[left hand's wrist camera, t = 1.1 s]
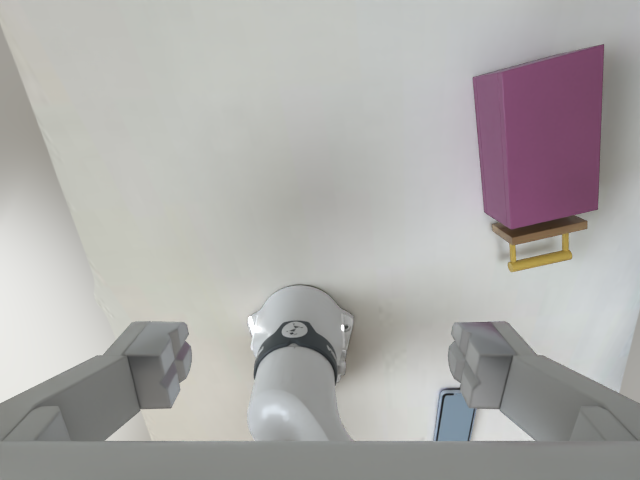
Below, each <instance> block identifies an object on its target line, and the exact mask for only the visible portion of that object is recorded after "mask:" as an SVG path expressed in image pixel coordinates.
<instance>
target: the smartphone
mask: <svg viewBox="0 0 640 480" xmlns="http://www.w3.org/2000/svg"><path fill="white" fill-rule="evenodd" d="M475 414H476V408H469V407H468V405H467V403H466V401H465V399H464V397H463V395H462V393H461V392H460V390H444V391H442V392H441V393H440V400H439V406H438V413H437V420H436V427H435V434H434V441H470V439H471V434H472V429H473V424H474V419H475Z"/></svg>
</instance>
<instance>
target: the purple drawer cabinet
mask: <svg viewBox="0 0 640 480" xmlns="http://www.w3.org/2000/svg"><path fill="white" fill-rule="evenodd" d="M603 59H604V44H602V45H598V46H593V47H589V48H584V49H580V50H575V51H570V52H566V53H561V54H557V55H553V56H550V57H546V58H542V59H538V60H535V61H531V62H527V63H524V64H520V65H516V66H513V67H509V68H505V69H502V70H498V71H494V72H491V73H487V74H483V75H479V76H476V77H473V86H474V97H475V109H476V120H477V132H478V144H479V155H480V167H481V178H482V190H483V201H484V212H485V213H486V214H488V215H489V216H491V217H492V218H494V219H495V220H497V221H499V222H500V223H502V224H503V225H505V226H506V227H508V228H510V229H515V228H520V227H524V226H528V225H533V224H537V223H541V222H546V221H550V220H554V219H559V218H563V217H568V216H572V215H576V214H581V213H585V212H589V211H594V210H598V193H599V166H600V139H601V113H602V86H603Z"/></svg>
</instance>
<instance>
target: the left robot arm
mask: <svg viewBox="0 0 640 480" xmlns="http://www.w3.org/2000/svg"><path fill="white" fill-rule="evenodd" d="M353 323H354V318H353V316H352V315H351V314H350V313H349V312H347V311H345V310H343V309H341V308H340V307H339V306H338V305H337V304H336V302H335V301H334V300H333V299H332V298H331V297H330V296H329V295H328V294H326V293H325V292H323V291H321V290H319V289H317V288H314V287H311V286H304V285H295V286H289V287H286V288H283V289H281V290H279V291H277V292H275V293H274V294H272V295H271V296H270V297H269V298H268V299H267V301H266V302H265V303H264V305H263V307H262V308H261V309H260V310H259V311H258V312H256V313H254V314H253V315H251V316H250V317H249V319H248V323H247V324H248V328H249V331H250V333H251V336H252V342H251V350H253V352H254V355H255V358H256V360H255V365H254V380H255V381H254V385H253V389H252V394H251V398H250V402H249V406H248V410H247V423H248V428H249V430H250V433H251V435H252V437H253V439H254V440H255V441H105V440H106V439H107V438H108V437H109V436H111V435H112V434H113V433H114V432H115V431H117V430H118V429H119V428H120V427H121V426H123V425H124V424H125V423H126V422H127V421H129V420H130V419H131V418H132V417H133V416H135V415H136V414H137V413H138V412H139V411H140V409H163V408H171V407H172V405H173V403H174V401H175V399H176V397H177V395H178V393H179V392H180V385H179V383H180V382H182V381H183V380H184V379H186V377H187V375H188V373H189V371H190V367H191V362H192V351H191V346H190V345H189V344H188V343H187V342H186V341H185V340H186V338H187V336H188V335H189V332H188V328H187V324H186V323H184V322H155V321H152V322H150V321H136V322H133V323H131V324H130V325H129V326H128V327H127V329H126V330H125V331H124V332H123V333H122V334H121V335H120V336H119V337H118V339H117V340H116V341H115V342H114V343H113V344H112V345H111V346H110V348H109V349H108V350H107V351H106V352H105V353H104V354H103V355H100V356H95V357H93V358H91V359H89V360H87V361H85V362H83V363H81V364H79V365H77V366H75V367H73V368H71V369H69V370H67V371H65V372H63V373H61V374H59V375H57V376H55V377H53V378H51V379H49V380H47V381H45V382H43V383H41V384H39V385H37V386H35V387H33V388H31V389H28V390H27V391H24V392H22V393H20V394H18V395H16V396H14V397H12V398H10V399H8V400H6V401H4V402H2V403H0V480H640V404H639V403H637V402H635V401H633V400H631V399H629V398H627V397H625V396H623V395H621V394H619V393H617V392H615V391H613V390H611V389H609V388H607V387H605V386H603V385H601V384H599V383H597V382H595V381H593V380H591V379H589V378H587V377H585V376H583V375H581V374H579V373H577V372H575V371H573V370H571V369H569V368H567V367H565V366H563V365H561V364H559V363H557V362H555V361H553V360H551V359H549V358H547V357H545V356H541V355H537V354H536V353H535V352H534V351H533V350H532V349H531V348H530V346H529V345H528V344H527V343H526V342H525V341H524V340H523V339H522V338H521V336H520V335H519V334H518V333H517V332H516V331H515V330H514V329H513V327H512V326H511V325H510V324H509V323H507V322H505V321H494V322H459V323H454V325H453V327H452V332H451V335H452V336H453V338H454V340H455V341H454V342H453V343H452V344H451V345H450V346H449V352H448V361H449V367H450V371H451V373H452V375H453V377H454V379H456V380H457V381H458V382H460V383H461V385H460V392H461V393H462V395H463V397H464V399H465V401H466V403H467V405H468V407H469V408H476V409H500V411H501V412H502V413H503V414H504V415H506V416H507V417H508V418H509V419H510V420H512V421H513V422H514V423H515V424H516V425H517V426H519V427H520V428H521V429H522V430H523V431H525V432H526V433H527V434H528V435H529V436H531V437H532V438H533V439H534V440H535V441H353V439H352V438H351V437H350V435H349V434H348V432H347V431H346V429H345V427H344V426H343V424H342V422H341V419H340V416H339V411H338V405H337V399H336V391H335V386H336V383H338V382H339V381H340V378H341V375H345V372H346V362H345V358H346V353H347V348H348V344H349V340H350V336H351V332H352V327H353ZM344 325H348V326H346V327H345V326H344Z"/></svg>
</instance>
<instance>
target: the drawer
mask: <svg viewBox="0 0 640 480" xmlns="http://www.w3.org/2000/svg"><path fill="white" fill-rule="evenodd" d="M584 229H587V221H586V220H584V219H582V218H579V217H577V216H575V215H572V216H568V217H563V218H559V219H554V220H550V221H546V222H541V223H537V224H533V225H528V226H524V227H520V228H515V229H510V228H508V227H506V226H505V225H503V224H502V223H500V222H499V223H495V224H492V230H493V232H495V233H496V234H497V235H499V236H500V237H502V238H503V239H504V240H506V241H507V242H509V244H510V261H511V262H508V268H509V270H510V271H511V272H515V271H520V270H524V269H529V268H534V267H538V266H543V265H547V264H552V263H556V262H561V261H566V260H570V259H572V253H571V252H570V250H569V233H571V232H575V231H579V230H584ZM557 235H562V251H557V252H553V253H548V254H544V255H539V256H535V257H530V258H526V259H521V260H516V250H515V245H517V244H522V243H526V242H531V241H535V240H539V239H544V238H548V237H553V236H557Z"/></svg>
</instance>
